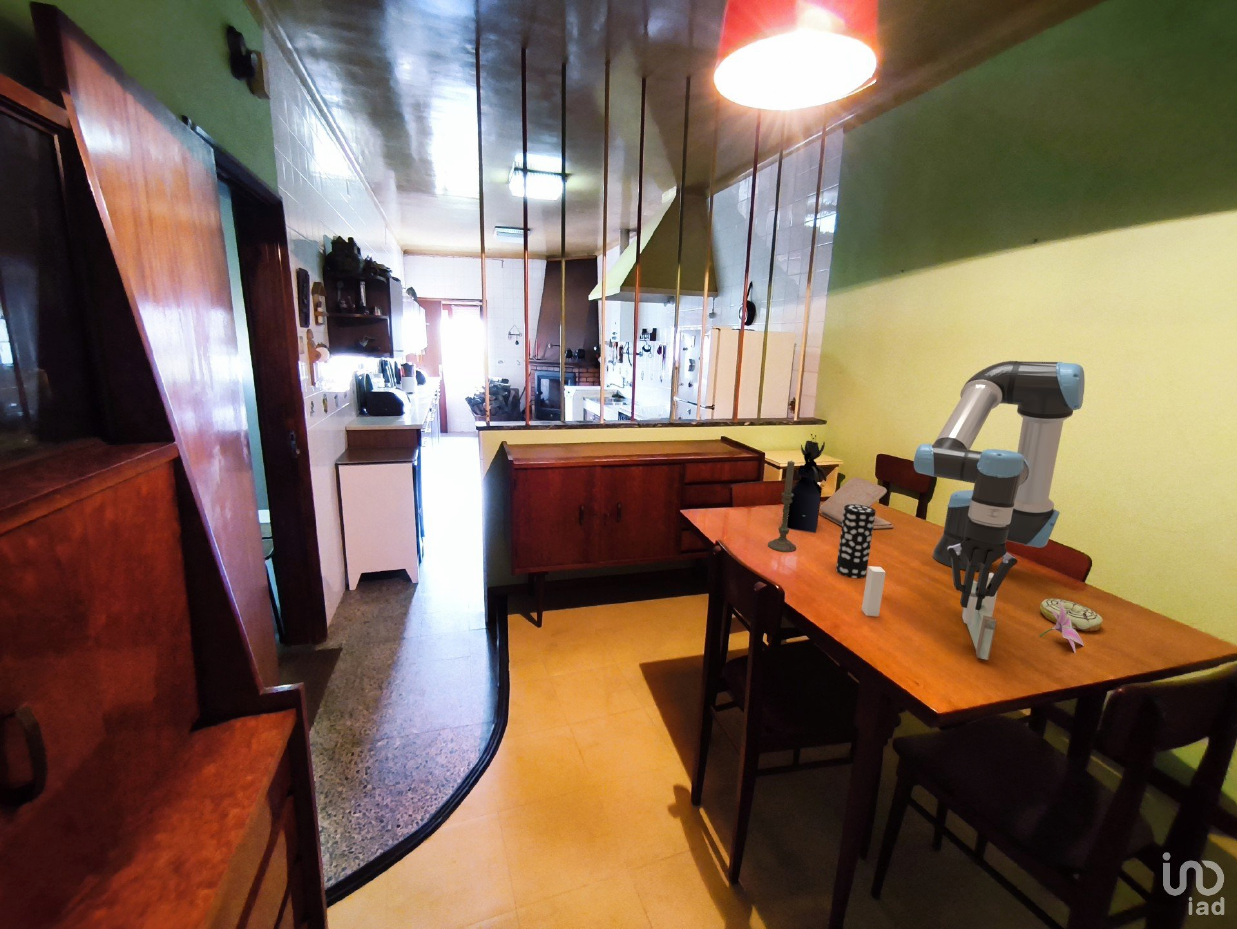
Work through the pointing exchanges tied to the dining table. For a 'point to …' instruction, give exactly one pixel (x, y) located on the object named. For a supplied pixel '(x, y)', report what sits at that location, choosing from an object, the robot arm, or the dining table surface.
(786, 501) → the candlestick holder
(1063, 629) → the lily
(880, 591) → the gate posts
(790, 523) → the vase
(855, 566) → the spotted tube
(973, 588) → the gate
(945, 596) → the dining table surface
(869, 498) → the case
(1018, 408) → the robot arm
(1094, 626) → the decorated donut
